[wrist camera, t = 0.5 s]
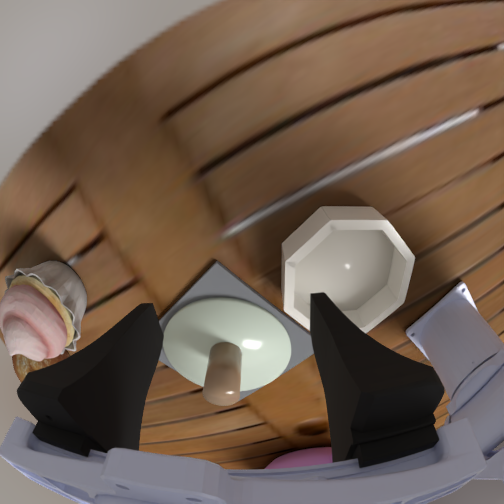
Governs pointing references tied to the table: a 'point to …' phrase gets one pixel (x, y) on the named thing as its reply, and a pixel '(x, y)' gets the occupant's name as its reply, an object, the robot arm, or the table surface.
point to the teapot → (303, 458)
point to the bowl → (346, 265)
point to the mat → (230, 286)
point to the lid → (226, 346)
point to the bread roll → (33, 364)
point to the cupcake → (42, 310)
